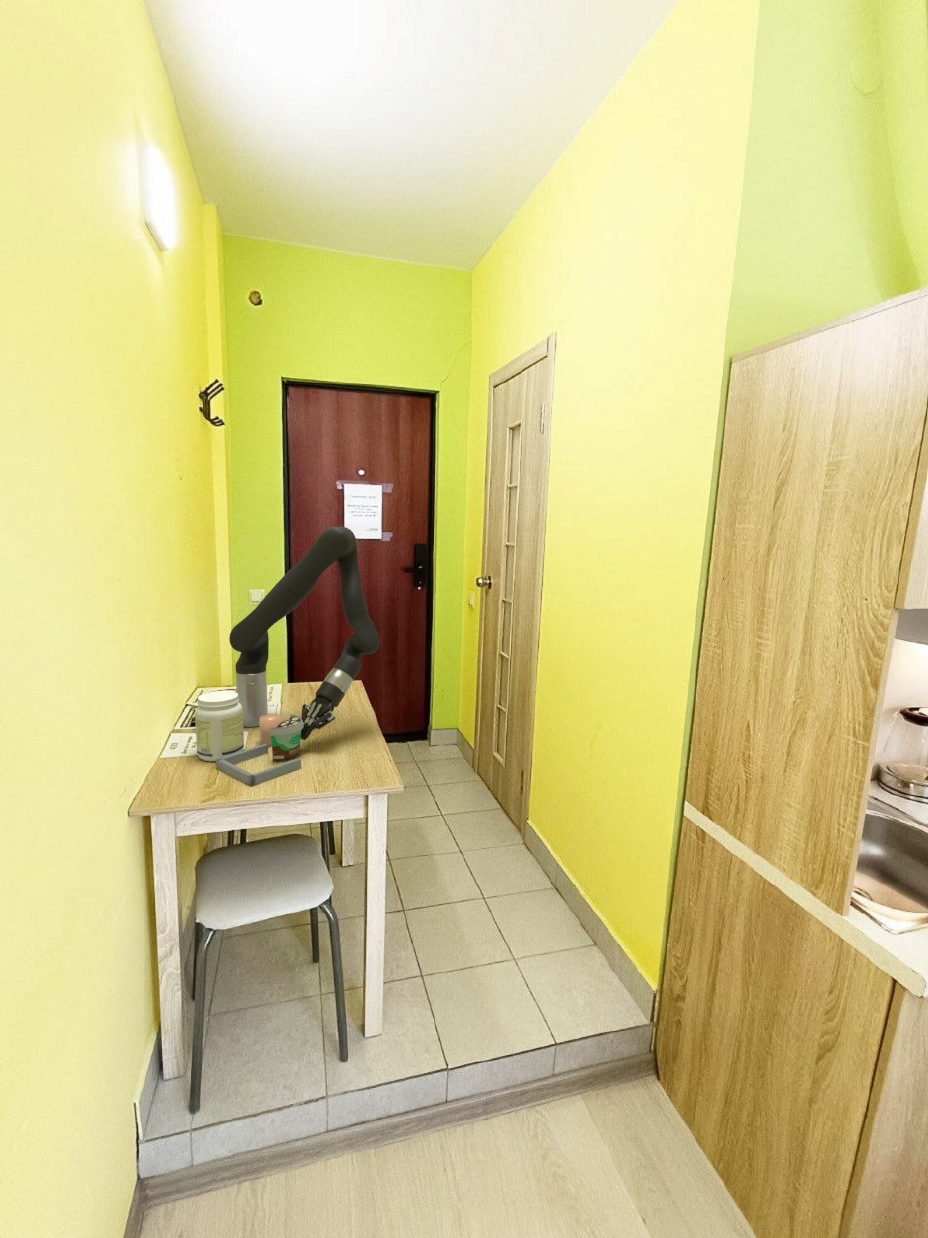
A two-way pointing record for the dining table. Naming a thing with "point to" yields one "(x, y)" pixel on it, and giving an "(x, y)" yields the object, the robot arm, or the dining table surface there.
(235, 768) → the frame
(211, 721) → the supplement tub
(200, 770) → the dining table surface
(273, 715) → the peach rounded cylinder
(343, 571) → the robot arm
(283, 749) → the food container
